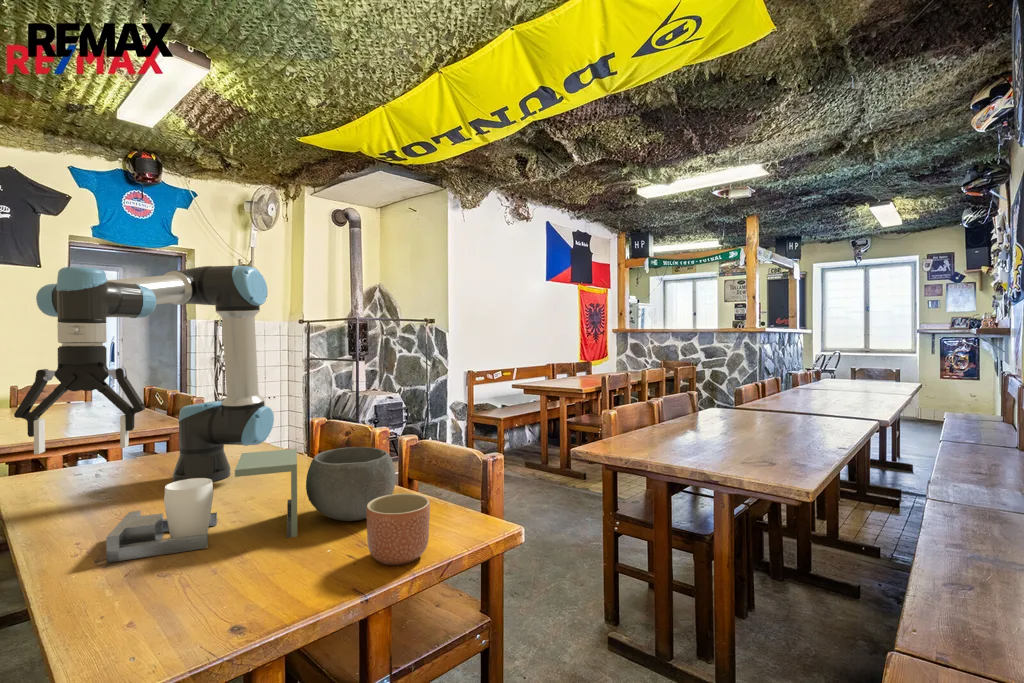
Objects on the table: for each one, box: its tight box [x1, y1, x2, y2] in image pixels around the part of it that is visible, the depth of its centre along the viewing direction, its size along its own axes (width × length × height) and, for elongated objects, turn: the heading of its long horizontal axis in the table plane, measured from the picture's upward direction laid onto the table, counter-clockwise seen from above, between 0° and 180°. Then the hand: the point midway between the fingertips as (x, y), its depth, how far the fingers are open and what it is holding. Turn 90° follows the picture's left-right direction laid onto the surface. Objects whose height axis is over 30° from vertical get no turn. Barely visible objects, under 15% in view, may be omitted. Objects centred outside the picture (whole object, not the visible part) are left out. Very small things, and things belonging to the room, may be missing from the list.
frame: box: [105, 510, 218, 563], centre depth 108 cm, size 15×17×5 cm
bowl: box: [305, 446, 397, 522], centre depth 124 cm, size 21×21×15 cm
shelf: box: [234, 448, 298, 539], centre depth 115 cm, size 16×12×16 cm
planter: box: [365, 493, 431, 566], centre depth 100 cm, size 12×12×11 cm
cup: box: [163, 478, 214, 539], centre depth 109 cm, size 9×9×12 cm
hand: (83, 449), depth 102 cm, fingers open, 13 cm apart
